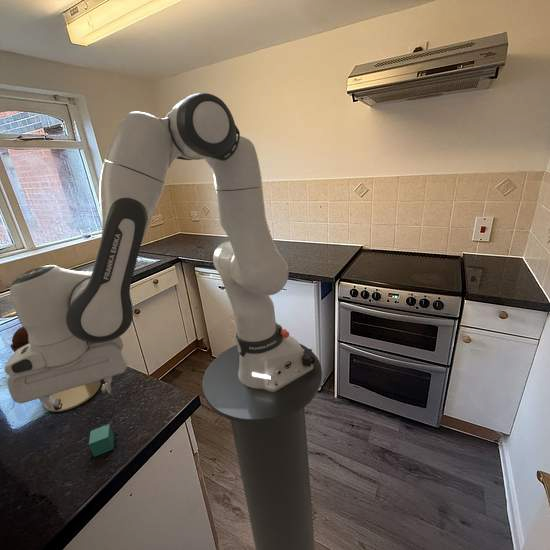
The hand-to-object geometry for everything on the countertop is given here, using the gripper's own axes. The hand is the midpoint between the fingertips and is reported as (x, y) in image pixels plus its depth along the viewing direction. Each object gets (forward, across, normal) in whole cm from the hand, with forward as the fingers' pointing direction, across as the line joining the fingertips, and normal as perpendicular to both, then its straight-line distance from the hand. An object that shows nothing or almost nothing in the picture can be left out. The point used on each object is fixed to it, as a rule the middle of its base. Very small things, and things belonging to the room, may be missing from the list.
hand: (83, 400), depth 64 cm
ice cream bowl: (+14, +24, -50) cm, 57 cm away
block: (+14, 0, 0) cm, 14 cm away
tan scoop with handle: (+14, +10, -29) cm, 33 cm away
